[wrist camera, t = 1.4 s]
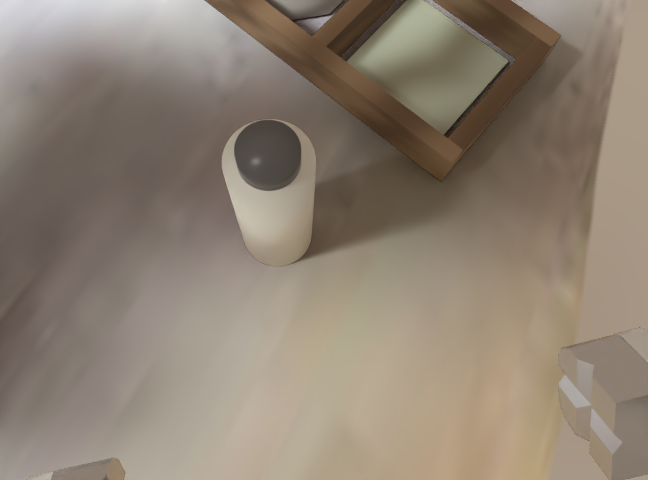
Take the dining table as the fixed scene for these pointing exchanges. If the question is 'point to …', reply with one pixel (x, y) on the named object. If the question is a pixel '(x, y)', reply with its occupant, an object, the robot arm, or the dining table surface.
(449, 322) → the dining table surface
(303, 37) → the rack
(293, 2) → the flask
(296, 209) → the white capped tube
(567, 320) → the dining table surface
